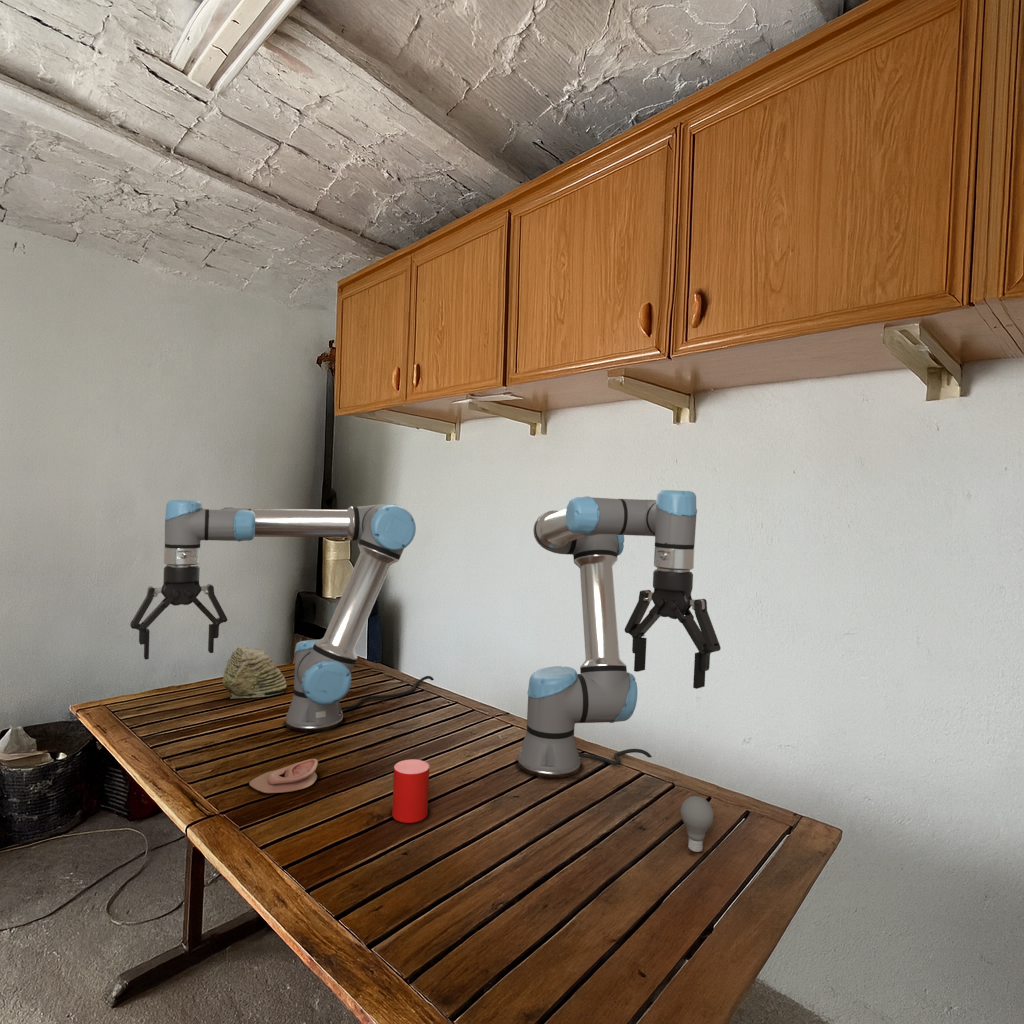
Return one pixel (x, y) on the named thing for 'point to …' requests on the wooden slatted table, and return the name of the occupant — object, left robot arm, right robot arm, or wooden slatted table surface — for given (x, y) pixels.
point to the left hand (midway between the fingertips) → (179, 655)
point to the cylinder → (410, 791)
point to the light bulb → (696, 820)
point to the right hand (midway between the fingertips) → (668, 678)
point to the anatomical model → (287, 778)
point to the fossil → (252, 674)
